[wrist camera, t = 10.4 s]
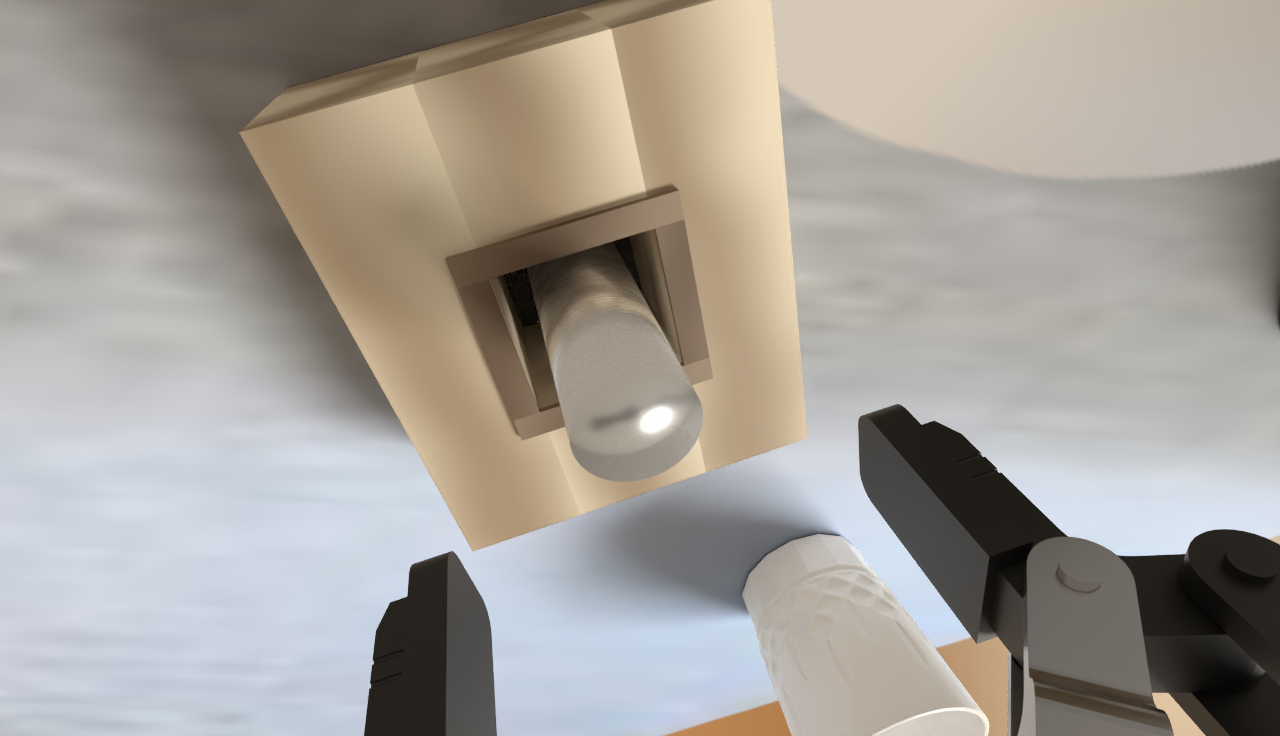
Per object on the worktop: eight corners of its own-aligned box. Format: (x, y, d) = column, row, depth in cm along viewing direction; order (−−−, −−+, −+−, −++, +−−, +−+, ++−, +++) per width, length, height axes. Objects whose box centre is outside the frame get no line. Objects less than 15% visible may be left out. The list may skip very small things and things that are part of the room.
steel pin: (599, 197, 22) (691, 352, 14) (620, 276, 24) (712, 456, 15) (511, 224, 22) (552, 398, 13) (538, 302, 23) (589, 498, 15)
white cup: (892, 531, 36) (1025, 707, 27) (823, 627, 39) (922, 809, 31) (772, 516, 33) (880, 709, 24) (708, 622, 36) (784, 822, 28)
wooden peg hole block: (700, -26, 19) (773, -15, 15) (753, 362, 27) (810, 441, 23) (285, 88, 18) (236, 134, 14) (468, 455, 26) (472, 555, 22)
